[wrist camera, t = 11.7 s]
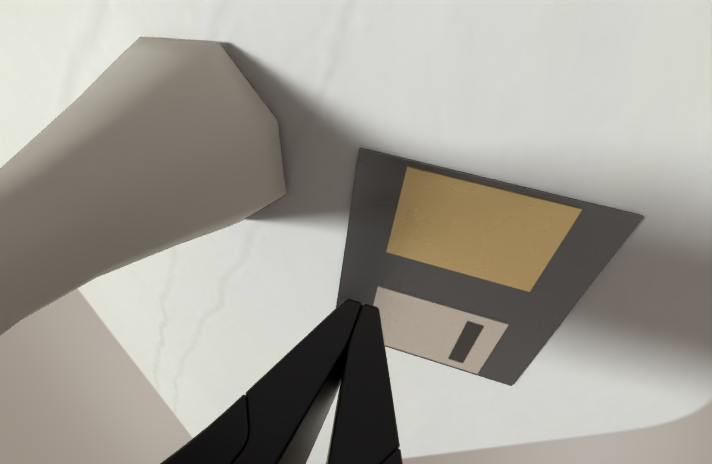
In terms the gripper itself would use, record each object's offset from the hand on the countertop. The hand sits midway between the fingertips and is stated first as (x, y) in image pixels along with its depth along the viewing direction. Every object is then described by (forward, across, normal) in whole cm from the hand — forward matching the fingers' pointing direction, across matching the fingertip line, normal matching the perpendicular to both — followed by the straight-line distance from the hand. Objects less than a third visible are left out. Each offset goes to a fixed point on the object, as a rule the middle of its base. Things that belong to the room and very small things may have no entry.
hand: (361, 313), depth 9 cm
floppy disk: (+5, -3, +3) cm, 7 cm away
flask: (+5, +8, -1) cm, 10 cm away
